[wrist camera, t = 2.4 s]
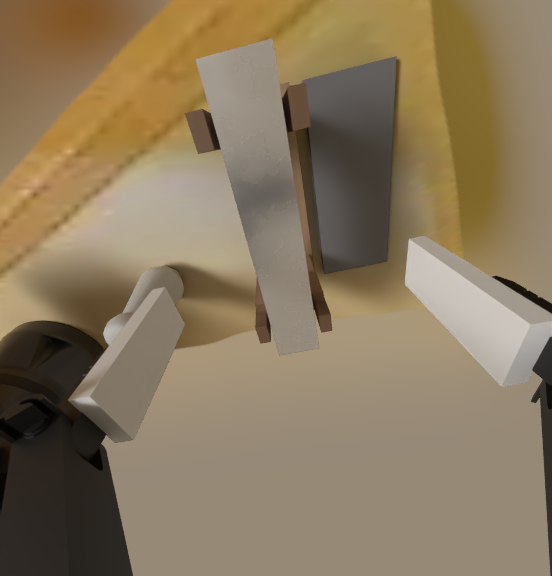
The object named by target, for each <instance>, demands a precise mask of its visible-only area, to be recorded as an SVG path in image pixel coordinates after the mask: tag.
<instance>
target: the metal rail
mask: <svg viewBox="0 0 552 576" xmlns="http://www.w3.org/2000/svg"><path fill="white" fill-rule="evenodd" d="M196 63H197V66H198V70H199V73H200V77H201V80H202V84H203V87H204V91H205V94H206V98H207V102H208V105H209V109H210V112H211V116H212V119H213V123H214V126H215V130H216V133H217V137H218V140H219V144H220V148H221V151H222V155H223V158H224V162H225V165H226V169H227V172H228V176H229V179H230V183H231V187H232V190H233V194H234V197H235V201H236V204H237V208H238V211H239V215H240V218H241V222H242V225H243V229H244V233H245V236H246V240H247V243H248V247H249V250H250V254H251V257H252V261H253V264H254V268H255V272H256V275H257V279H258V282H259V286H260V289H261V293H262V296H263V300H264V303H265V307H266V310H267V314H268V318H269V321H270V325H271V328H272V332H273V335H274V339H275V342H276V346H277V349H278V353H279V355H285V354H290V353H296V352H302V351H307V350H313V349H319V342H318V335H317V329H316V322H315V315H314V309H313V302H312V296H311V289H310V282H309V276H308V269H307V263H306V256H305V249H304V243H303V236H302V229H301V223H300V216H299V210H298V203H297V196H296V190H295V183H294V177H293V170H292V163H291V157H290V150H289V144H288V137H287V130H286V124H285V117H284V111H283V104H282V97H281V91H280V84H279V78H278V71H277V64H276V58H275V51H274V45H273V38H272V39H268V40H265V41H261V42H257V43H254V44H250V45H246V46H243V47H239V48H235V49H231V50H228V51H224V52H220V53H217V54H213V55H209V56H206V57H202V58H198V59H196Z"/></svg>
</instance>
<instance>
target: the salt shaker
mask: <svg viewBox="0 0 552 576" xmlns="http://www.w3.org/2000/svg"><path fill="white" fill-rule="evenodd" d="M163 287H166V289H167V291H168V293H169V295H170V297H171V299H172V301H173V303H174V304H176V303H177V302H178V301H179V300H180V298H181V296H182V295H183V293H184V287H183V282H182V280H181V278H180V275H179V273H178V271H176V270H174V269H172V268H170V267H168V266H166V265H165V266H161V267H155V268H150V269H148V270H147V271H146V272H144V273H143V274H141V276H140V278H139V280H138V282H137V284H136V287H135V289H134V291H133V293H132V295H131V297H130V299H129V301H128V303H127V305H126V307H125V309H124V311H123V313H120V314H118V315H117V316H115V317H113V318H112V319H111V320H110V321H109V322H108V323H107V325H106V327H105V329H104V332H103V335H104V338H105V341H106V343H107V344H108V345H110V344H111V343H112V342H113V340H114V339H115V338H116V336H117V335H118V334H119V332H120V331H121V330H122V328H123V327H124V326H125V325H126V323H127V322H128V321H129V319H130V318H131V317H132V315H133V314H134V313H135V311H136V310H137V309H138V308H139V306H140V305H141V304H142V302H143V301H144V300H145V298H146V297H147V296H148V294H149V293H150V292H151V291H152V290H153V289H158V288H163Z"/></svg>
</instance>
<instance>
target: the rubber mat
mask: <svg viewBox="0 0 552 576" xmlns="http://www.w3.org/2000/svg"><path fill="white" fill-rule="evenodd" d="M396 57H397V56H396ZM396 57H392V58H388V59H384V60H380V61H376V62H372V63H368V64H364V65H361V66H357V67H353V68H349V69H345V70H341V71H337V72H333V73H329V74H325V75H322V76H318V77H314V78H310V79H306V80H303V81H302V82H303V83H306V89H307V98H308V107H309V117H310V126H311V127H308V136H309V145H310V153H311V162H312V171H313V180H314V189H315V198H316V207H317V216H318V225H319V234H320V243H321V252H322V261H323V270H324V274H326V273H331V272H336V271H341V270H346V269H351V268H356V267H361V266H366V265H371V264H376V263H381V262H387V254H388V232H389V210H390V188H391V166H392V144H393V122H394V101H395V79H396Z"/></svg>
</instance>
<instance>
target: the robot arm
mask: <svg viewBox="0 0 552 576" xmlns="http://www.w3.org/2000/svg"><path fill="white" fill-rule="evenodd" d="M405 285H406V286H407V287H408V288H409V289H410V290H411V292H412V293H413V294H414V295H415V296H416V297H417V298H418V299H419V300H420V301H421V302H422V303H423V304H424V305H425V306H426V307H427V308H428V309H429V311H430V312H431V313H432V314H433V315H434V316H435V317H436V318H437V319H438V320H439V321H440V322H441V323H442V324H443V325H444V326H445V327H446V328H447V330H448V331H449V332H450V333H451V334H452V335H453V336H454V337H455V338H456V339H457V340H458V341H459V342H460V343H461V344H462V345H463V346H464V347H465V348H466V350H467V351H468V352H469V353H470V354H471V355H472V356H473V357H474V358H475V359H476V360H477V361H478V362H479V363H480V364H481V365H482V366H483V368H484V369H485V370H486V371H487V372H488V373H489V374H490V375H491V376H492V377H493V378H494V379H495V380H496V381H497V382H498V383H499V384H500V385H501V387H502V386H509V385H516V384H523V383H526V382H527V380H528V378H529V376H530V375H531V373H532V371H534V372H535V373H536V374H537V375H539V376H540V377H541V378H542V379H543V380H542V382H541V384H540V385H539V387H538V389H537V390H536V392H535V394H534V395H533V397H532V400H531V402H534V403H536V402H537V400H538V399H539V398H540V404H541V419H542V438H543V454H544V472H545V488H546V506H547V523H548V539H549V557H550V574H551V576H552V304H551V303H550V302H548V301H546V300H544V299H543V298H541V297H539V298H538V296H537V295H536V294H534V293H532V292H530V291H527V290H526V289H525V288H524V287H522V286H520V285H518V284H517V283H515V282H513V281H510V280H507V279H504V278H501V277H498V276H493V277H491V276H489V275H488V274H486V273H484V272H483V271H481V270H479V269H478V268H476V267H475V266H473V265H471V264H470V263H468V262H466V261H465V260H463V259H462V258H460V257H458V256H457V255H455V254H453V253H452V252H450V251H449V250H447V249H445V248H444V247H442V246H440V245H439V244H437V243H435V242H434V241H432V240H431V239H429V238H427V237H426V236H420V237H415V238H410V239H409V243H408V254H407V265H406V275H405ZM184 326H185V323H184V321H183V320H182V318H181V316H180V314H179V312H178V310H177V308H176V306H175V304H174V303H173V301H172V299H171V297H170V295H169V293H168V291H167V289H166V287H163V288H158V289H153V290H152V291H151V292H150V293H149V294H148V296H147V297H146V298H145V300H144V301H143V302H142V304H141V305H140V306H139V308H138V309H137V310H136V311H135V313H134V314H133V315H132V317H131V318H130V319H129V321H128V322H127V323H126V325H125V326H124V327H123V328H122V330H121V331H120V332H119V334H118V335H117V336H116V338H115V339H114V340H113V342H112V343H111V344H110V345H109V347H107V348H106V349H105V350H103V349H102V347H101V346H100V345H99V344H98V343H97V342H96V341H94V340H93V339H92V338H91V337H89V336H88V335H86V334H84V333H83V332H81V331H79V330H77V329H74V328H72V327H69V326H66V325H63V324H59V323H54V322H47V321H34V322H28V323H24V324H22V325H20V326H18V327H16V328H15V329H14V330H12V331H11V332H10V333H8V334H7V335H6V336H5V337H3V339H2V340H1V341H0V576H133V573H132V569H131V564H130V559H129V555H128V550H127V545H126V541H125V536H124V531H123V527H122V522H121V518H120V513H119V508H118V504H117V499H116V494H115V489H114V485H113V480H112V475H111V471H110V466H109V462H108V457H107V452H106V449H105V447H104V446H103V445H102V444H101V443H102V441H103V439H104V438H105V436H106V435H107V436H108V437H109V438H110V439H111V440H113V441H114V442H115V443H118V442H124V441H131V440H134V439H135V436H136V434H137V432H138V429H139V428H140V425H141V423H142V421H143V419H144V416H145V414H146V412H147V409H148V407H149V405H150V403H151V400H152V398H153V396H154V393H155V391H156V389H157V387H158V385H159V382H160V380H161V378H162V376H163V373H164V371H165V369H166V367H167V364H168V362H169V359H170V358H171V355H172V353H173V351H174V349H175V346H176V344H177V342H178V340H179V337H180V335H181V333H182V330H183V328H184Z"/></svg>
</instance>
